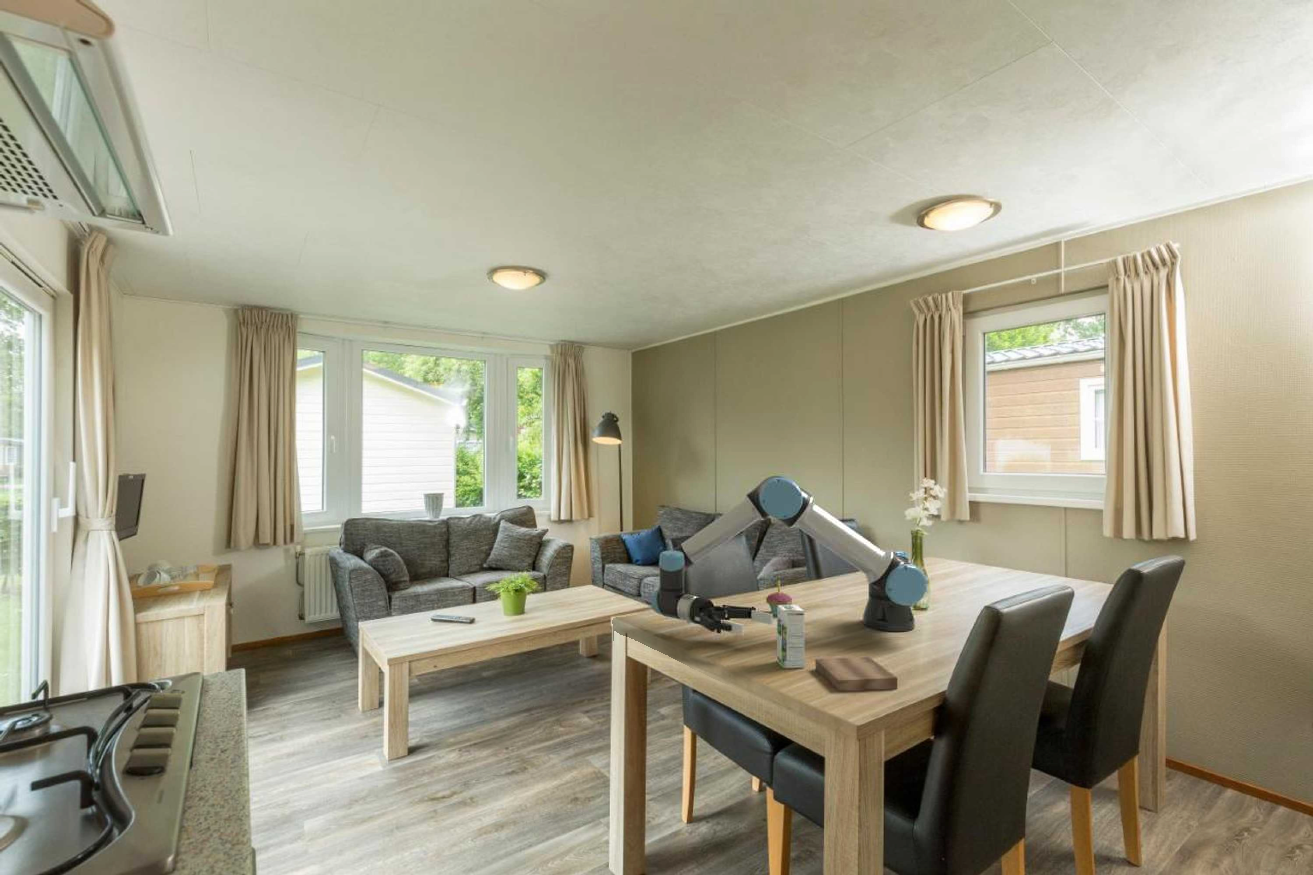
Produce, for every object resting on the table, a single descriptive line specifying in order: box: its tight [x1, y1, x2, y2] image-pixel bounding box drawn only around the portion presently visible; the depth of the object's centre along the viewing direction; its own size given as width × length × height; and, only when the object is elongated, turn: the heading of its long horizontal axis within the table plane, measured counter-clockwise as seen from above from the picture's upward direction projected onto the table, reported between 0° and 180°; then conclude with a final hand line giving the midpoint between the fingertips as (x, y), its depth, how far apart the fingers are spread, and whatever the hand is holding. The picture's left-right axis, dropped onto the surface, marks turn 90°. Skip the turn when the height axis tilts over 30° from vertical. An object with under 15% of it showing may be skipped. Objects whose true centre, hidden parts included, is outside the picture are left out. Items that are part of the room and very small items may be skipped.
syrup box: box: [776, 604, 806, 669], centre depth 154 cm, size 6×6×14 cm
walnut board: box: [815, 656, 898, 692], centre depth 145 cm, size 14×14×2 cm
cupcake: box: [765, 580, 793, 616], centre depth 201 cm, size 9×8×12 cm
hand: (758, 624), depth 161 cm, fingers open, 13 cm apart
